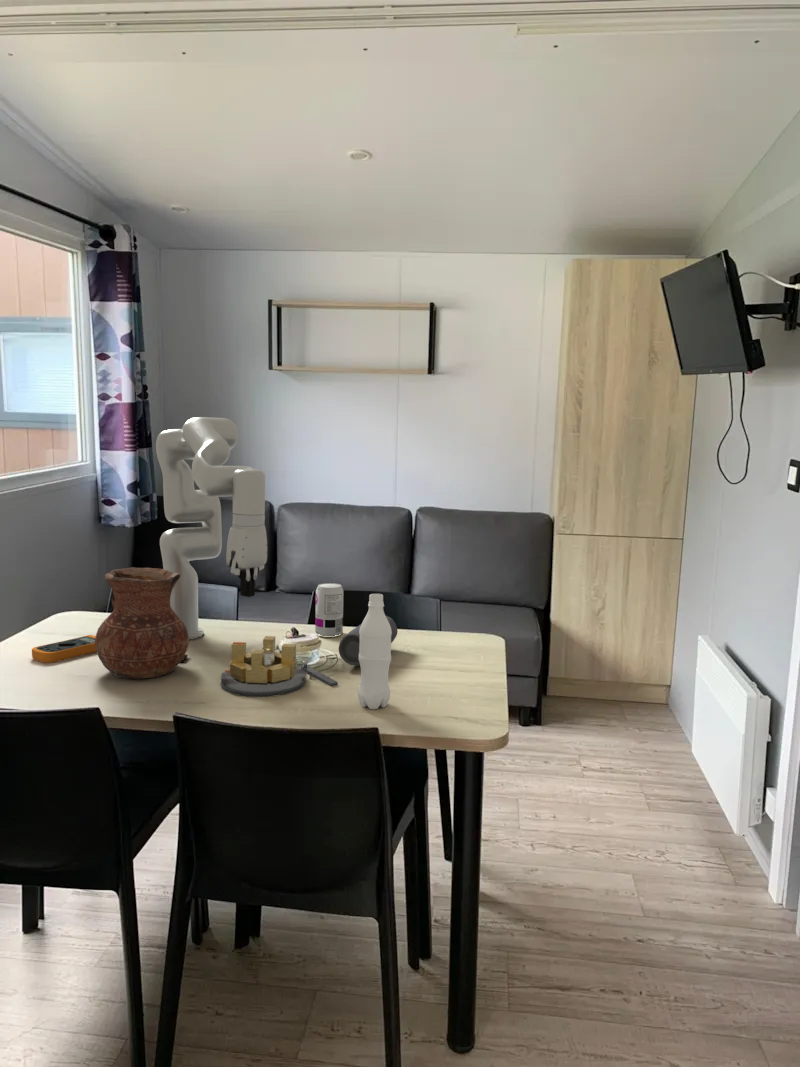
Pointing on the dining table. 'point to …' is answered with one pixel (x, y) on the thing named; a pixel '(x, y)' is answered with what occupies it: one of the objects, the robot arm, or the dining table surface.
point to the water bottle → (374, 655)
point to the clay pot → (141, 625)
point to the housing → (263, 688)
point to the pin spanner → (318, 675)
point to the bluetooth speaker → (352, 640)
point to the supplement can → (329, 609)
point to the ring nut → (262, 662)
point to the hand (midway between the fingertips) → (247, 595)
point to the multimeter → (64, 649)
